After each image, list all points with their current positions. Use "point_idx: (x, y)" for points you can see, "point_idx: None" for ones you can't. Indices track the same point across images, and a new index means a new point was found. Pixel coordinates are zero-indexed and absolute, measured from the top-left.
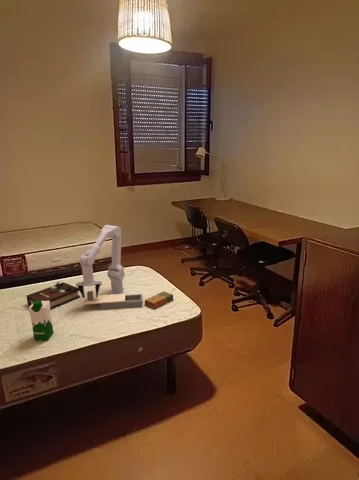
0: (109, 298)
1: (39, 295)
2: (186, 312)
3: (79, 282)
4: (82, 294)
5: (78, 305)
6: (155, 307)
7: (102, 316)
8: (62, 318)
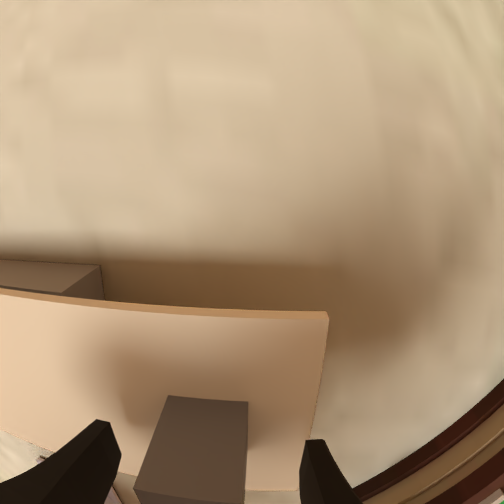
0: (1, 374)
1: None
2: None
3: None
4: (334, 490)
5: (364, 398)
6: None
7: (64, 95)
8: (499, 131)
